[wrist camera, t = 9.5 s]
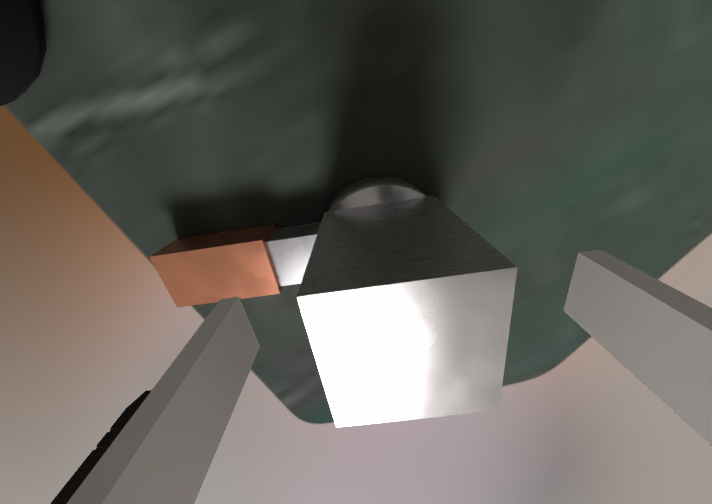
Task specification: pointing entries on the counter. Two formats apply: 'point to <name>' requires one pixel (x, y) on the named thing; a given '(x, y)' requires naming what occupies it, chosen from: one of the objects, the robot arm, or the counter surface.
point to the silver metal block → (406, 313)
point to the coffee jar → (20, 47)
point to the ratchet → (258, 251)
